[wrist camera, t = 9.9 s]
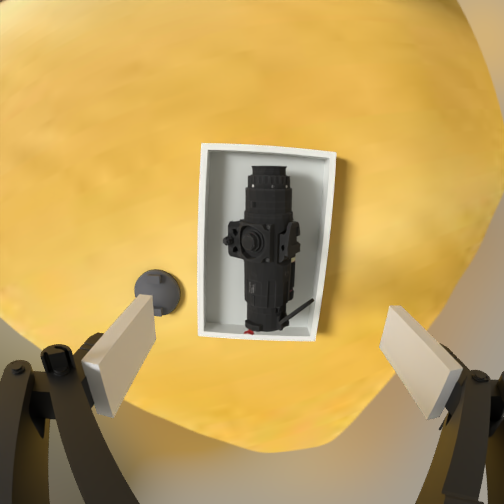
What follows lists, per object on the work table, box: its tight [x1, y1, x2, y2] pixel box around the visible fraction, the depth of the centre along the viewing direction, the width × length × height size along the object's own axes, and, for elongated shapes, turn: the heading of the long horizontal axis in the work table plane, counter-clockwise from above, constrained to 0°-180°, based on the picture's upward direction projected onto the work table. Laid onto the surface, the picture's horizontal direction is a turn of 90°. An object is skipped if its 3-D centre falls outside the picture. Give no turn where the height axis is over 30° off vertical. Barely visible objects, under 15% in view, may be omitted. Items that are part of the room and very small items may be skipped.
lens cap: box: [135, 269, 180, 316], centre depth 36 cm, size 6×6×2 cm
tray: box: [197, 143, 336, 341], centre depth 34 cm, size 22×14×3 cm, turn 177°
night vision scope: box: [223, 166, 315, 335], centre depth 31 cm, size 8×18×10 cm
